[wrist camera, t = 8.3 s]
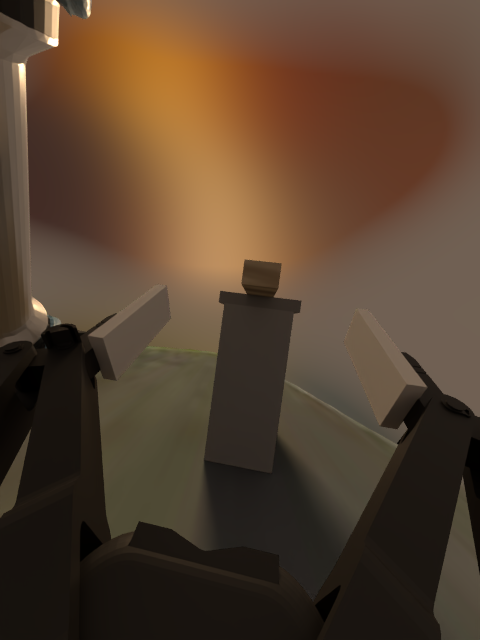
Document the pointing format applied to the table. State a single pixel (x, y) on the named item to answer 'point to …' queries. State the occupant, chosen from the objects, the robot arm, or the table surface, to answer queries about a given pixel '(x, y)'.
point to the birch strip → (261, 278)
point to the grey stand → (249, 380)
